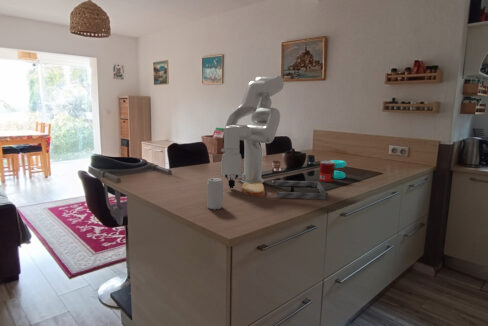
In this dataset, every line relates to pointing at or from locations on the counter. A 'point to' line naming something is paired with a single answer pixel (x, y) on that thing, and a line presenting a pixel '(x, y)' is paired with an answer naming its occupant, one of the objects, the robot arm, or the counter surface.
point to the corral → (320, 195)
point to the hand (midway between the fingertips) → (231, 187)
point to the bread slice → (253, 189)
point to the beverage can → (214, 193)
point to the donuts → (339, 165)
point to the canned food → (327, 171)
